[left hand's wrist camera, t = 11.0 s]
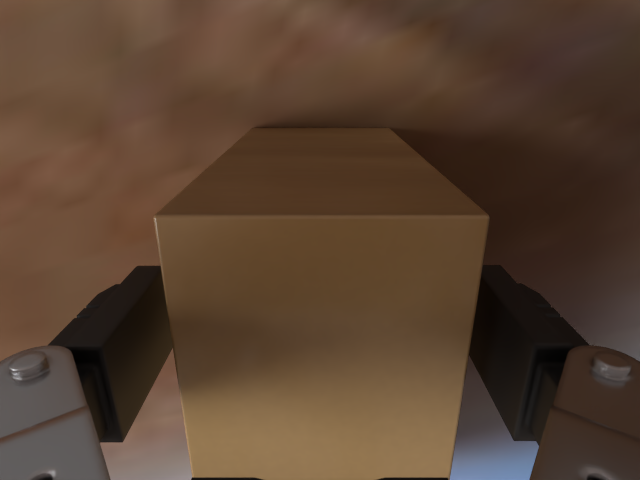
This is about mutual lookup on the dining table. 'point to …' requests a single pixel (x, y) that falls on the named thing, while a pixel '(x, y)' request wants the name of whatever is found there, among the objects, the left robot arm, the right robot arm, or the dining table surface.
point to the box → (321, 306)
